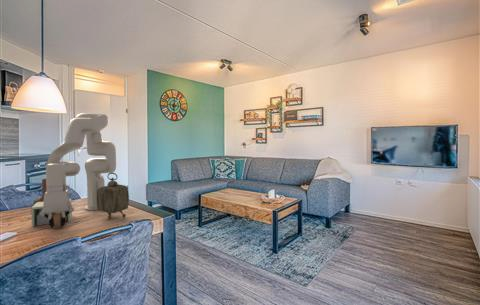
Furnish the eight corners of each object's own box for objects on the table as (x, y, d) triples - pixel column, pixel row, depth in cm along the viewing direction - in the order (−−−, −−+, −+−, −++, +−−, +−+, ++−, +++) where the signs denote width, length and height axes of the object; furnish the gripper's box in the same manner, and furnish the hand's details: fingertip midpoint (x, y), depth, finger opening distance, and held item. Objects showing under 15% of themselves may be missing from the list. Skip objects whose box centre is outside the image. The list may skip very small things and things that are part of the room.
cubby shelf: (71, 215, 136) (71, 199, 136) (69, 221, 126) (69, 203, 125) (37, 219, 128) (36, 202, 128) (32, 226, 118) (31, 207, 118)
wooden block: (33, 207, 152) (32, 179, 151) (35, 206, 156) (34, 178, 155) (51, 206, 156) (50, 178, 156) (52, 204, 160) (51, 177, 160)
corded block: (67, 218, 131) (67, 205, 131) (63, 228, 116) (63, 213, 116) (56, 219, 128) (55, 207, 128) (50, 229, 114) (50, 215, 113)
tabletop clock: (129, 216, 134) (128, 172, 133) (116, 221, 126) (115, 174, 125) (109, 214, 139) (108, 171, 138) (95, 218, 130) (94, 173, 129)
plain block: (51, 220, 127) (50, 211, 127) (49, 223, 123) (49, 213, 123) (39, 222, 125) (38, 212, 125) (36, 225, 121) (36, 215, 120)
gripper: (77, 186, 123) (78, 221, 124) (36, 189, 115) (37, 226, 115) (76, 188, 116) (77, 225, 117) (32, 191, 108) (33, 231, 109)
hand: (57, 225), depth 116 cm, fingers closed on corded block, 3 cm apart
